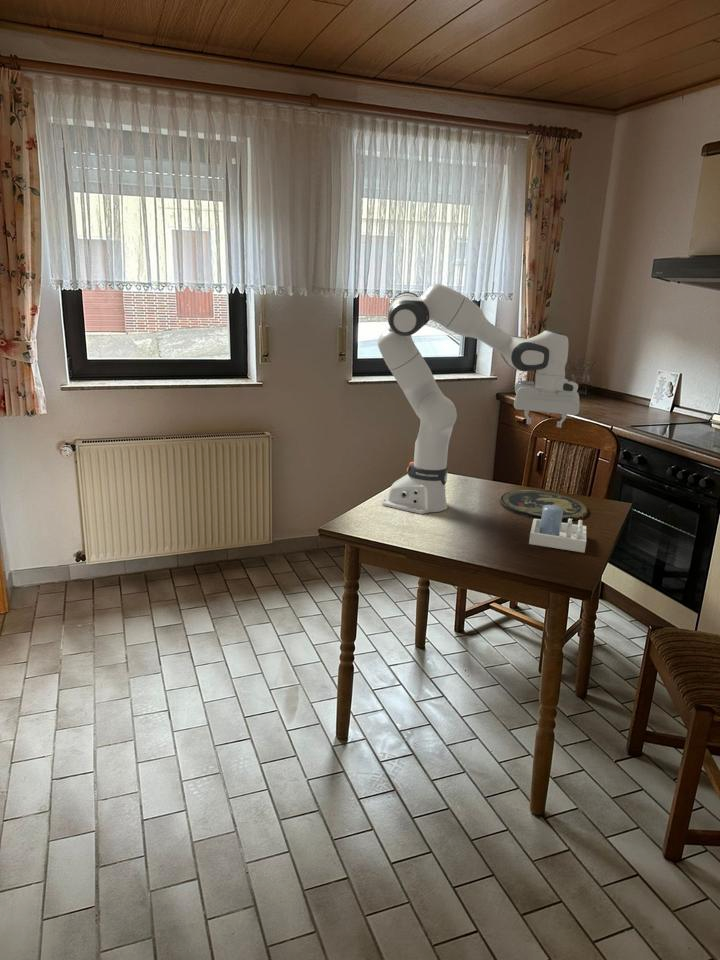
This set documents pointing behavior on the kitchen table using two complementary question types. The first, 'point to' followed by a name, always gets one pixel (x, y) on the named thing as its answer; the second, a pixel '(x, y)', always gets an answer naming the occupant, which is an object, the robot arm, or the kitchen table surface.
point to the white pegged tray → (560, 536)
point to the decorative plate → (541, 504)
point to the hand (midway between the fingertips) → (543, 425)
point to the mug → (551, 520)
